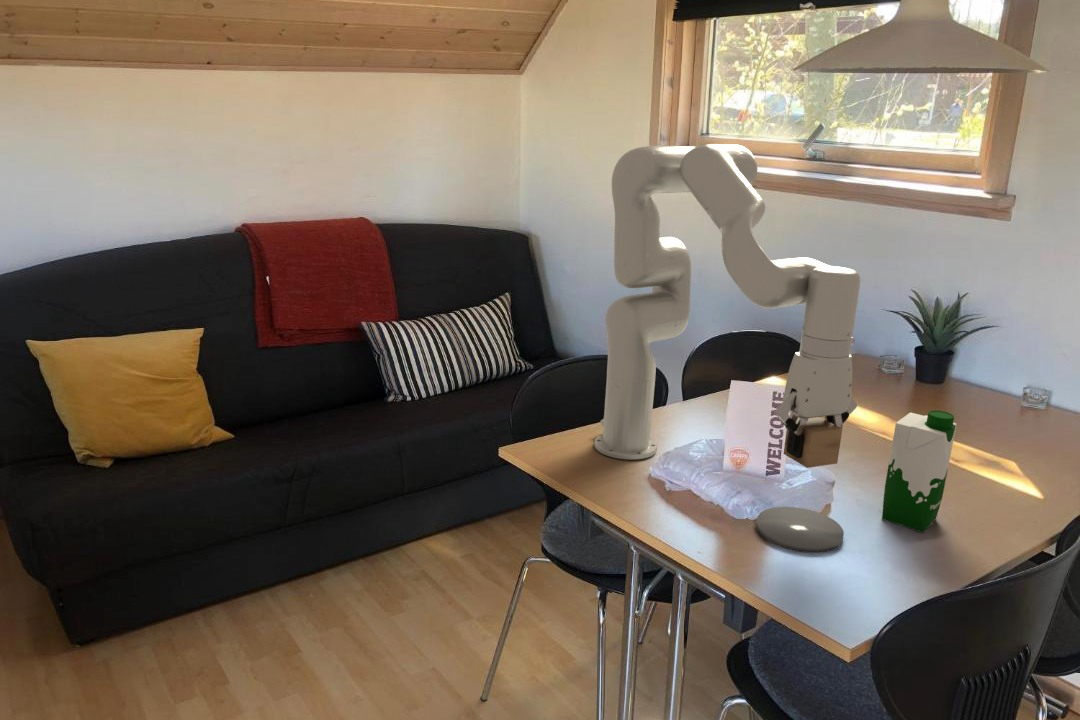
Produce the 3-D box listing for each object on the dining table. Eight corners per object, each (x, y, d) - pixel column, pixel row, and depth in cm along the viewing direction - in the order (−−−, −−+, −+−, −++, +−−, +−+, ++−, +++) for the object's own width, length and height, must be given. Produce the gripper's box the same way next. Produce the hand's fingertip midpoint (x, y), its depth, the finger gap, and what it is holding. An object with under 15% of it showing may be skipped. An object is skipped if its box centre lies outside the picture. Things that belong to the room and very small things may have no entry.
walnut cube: (783, 453, 147) (787, 419, 145) (812, 449, 149) (817, 416, 147) (807, 467, 142) (811, 432, 140) (837, 463, 144) (842, 428, 142)
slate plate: (739, 519, 153) (740, 513, 152) (805, 508, 158) (806, 502, 158) (791, 558, 141) (792, 551, 140) (861, 545, 146) (862, 538, 146)
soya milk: (927, 536, 150) (948, 424, 144) (873, 518, 155) (891, 410, 150) (942, 519, 157) (963, 411, 151) (890, 502, 162) (909, 398, 156)
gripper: (852, 336, 147) (837, 439, 152) (765, 343, 140) (752, 450, 145) (885, 348, 140) (868, 455, 145) (795, 356, 133) (781, 468, 139)
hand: (810, 451), depth 145 cm, fingers closed on walnut cube, 6 cm apart
